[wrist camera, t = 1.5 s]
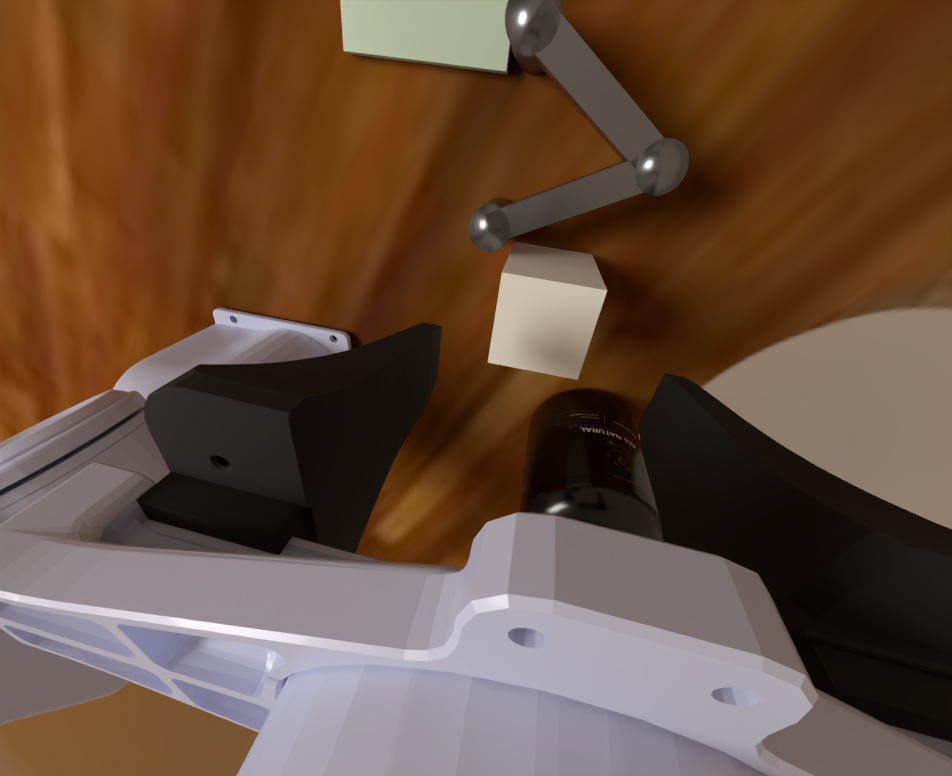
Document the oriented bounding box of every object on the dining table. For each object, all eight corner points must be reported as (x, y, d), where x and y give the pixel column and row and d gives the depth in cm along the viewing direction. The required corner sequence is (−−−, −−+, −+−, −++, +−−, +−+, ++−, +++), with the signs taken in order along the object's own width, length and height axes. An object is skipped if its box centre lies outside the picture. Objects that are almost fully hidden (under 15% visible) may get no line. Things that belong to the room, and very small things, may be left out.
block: (502, 313, 21) (487, 362, 16) (515, 241, 19) (501, 272, 14) (571, 325, 20) (577, 379, 16) (591, 254, 18) (607, 290, 13)
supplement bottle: (624, 373, 21) (688, 559, 12) (639, 456, 25) (700, 658, 15) (515, 396, 24) (490, 567, 14) (542, 469, 27) (536, 652, 17)
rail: (479, 234, 19) (466, 248, 16) (506, 9, 14) (494, -29, 11) (630, 259, 18) (645, 278, 15) (709, 32, 13) (753, -2, 10)
